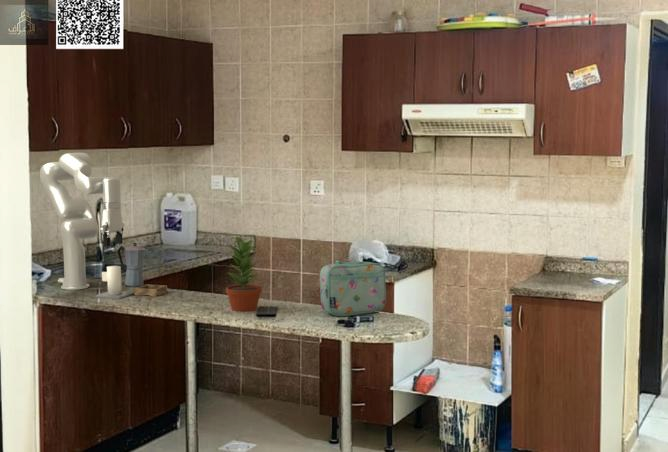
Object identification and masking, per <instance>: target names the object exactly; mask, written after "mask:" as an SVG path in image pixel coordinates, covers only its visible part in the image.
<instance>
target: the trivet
mask: <svg viewBox="0 0 668 452" xmlns="http://www.w3.org/2000/svg"><path fill="white" fill-rule="evenodd" d="M131 294H133V295H135V291H134V292H133V291H122V294H119V295H108V291H105V292H102V293H99V294H96V295H95V296H94V297H95V298H101V299H112V300H113V299H117V300H121V299H124V298H126V296H127V297H129V295H130V296H132V295H131Z"/></svg>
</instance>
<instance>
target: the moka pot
mask: <svg viewBox="0 0 668 452" xmlns="http://www.w3.org/2000/svg"><path fill="white" fill-rule="evenodd" d="M116 251H117V255H118V259H119V263H120V266H122V267H126V272H125V279H124V285H125V286H126V287H133V288H136V287H141V286H144V285H145V284H144V281H145V280H144V274H143V264H144V260H145V256H146V254H147V253H148V249H146V248H145V247H143V246H142V247H141V246H137V242H133V246H122V245H121V246H119V247H118V250H116ZM121 251H123V252H124V255H125V263H123V262H124V261H123V259H122V258H123V257H122V255H121Z"/></svg>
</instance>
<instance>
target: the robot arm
mask: <svg viewBox="0 0 668 452" xmlns="http://www.w3.org/2000/svg"><path fill="white" fill-rule="evenodd" d="M92 173H93V172H92V158H91V156H90V155H89V154H88V153H86V152H68V153H64V154H62V155H61V156H60V157H59V159H58V161H51V162H47V163H45V164H43V165H42V166H41V167H40V169H39V179H40V182H41V185H42V187H43V188H44V190H45V191H46V193H47V195H48V196H49V198H50V202H51V204H52V206H53V209H54V211H55V213H56V215H57V217H58V218H59V219H60V220H62V221H63V220H64V221H63V222H62V223H61V225H60V228H59V230H60V235H61V242H62V250H63V251H62V252H63V253H62V254H63V274H64V275H63V276H64V277H58V280H57V283H58V284H59V283H60V284H61V283H62V285H61V287H60V288H61V289H62V290H68V291H71V290H72V291H74V290H75V291H76V290H84V289H89V288H90V284H89V283H87V280H86V279H87V275H86V270H87V269H86V249H85V246H84V244H83V243H82V242H81V240H87V239H93V238H95V237H97V236H98V234H99V230H100V232H101V236H102V244H103V245H102V246H103V247H104V248H105V247H106V248H110V247H111V237H110V236H111V234H112V233H115V237H114V238H115V239H114V240H115V244H117V245H121V244H123V234H124V227H125V223H123V217H122V205H121V203H122V201H121V200H122V197H121V196H122V195H121V180H120V178H118V177H111V176H105V175H103V176H91V175H92ZM66 180H67V181H68V180H74V185H75V186H76V188H77V189H78V190H80V191H81V192H82V193H84V194H86V195H99V194H102V205H103V206H102V208H103V209H102V215H101V227H100V229H99V223H98V221H97V219H96V216H95V214H94V212H93V210H92V206H91V205H90V203H89V201H88V200H87V199H85V198H82V197H74V198H72V197H71V196H70V194H69V192H68V189H67V188H66V187H65V186H64V185H63V184H62V183H60V181H66ZM88 287H89V288H88Z"/></svg>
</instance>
